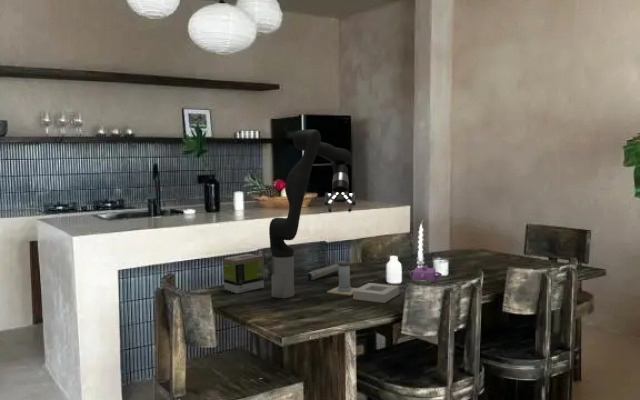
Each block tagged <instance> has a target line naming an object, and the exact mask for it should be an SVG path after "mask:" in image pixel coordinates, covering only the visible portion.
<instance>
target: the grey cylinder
mask: <svg viewBox="0 0 640 400" xmlns="http://www.w3.org/2000/svg"><path fill="white" fill-rule="evenodd" d="M339 262H346V261H345V260H340V261H339ZM333 272H336V274H337V275H339V265H338V263H335V264H332V265H328V266H325V267H323V268H319V269H315V270H314V269H313V270H311V271H310V272H307V273H306V279H307V281H315V280H318V279H319V278H321V277H322V278H323V277H324V276H326V275H329V274H331V273H333Z"/></svg>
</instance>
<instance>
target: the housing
mask: <svg viewBox="0 0 640 400" xmlns="http://www.w3.org/2000/svg"><path fill="white" fill-rule="evenodd" d="M357 288H358V289H356V290H354V291H353V295H352V296H353V297H352V299H353V300H356V301H357V300H359V301H365V302H371V303H372V302H373V303H374V302H375V303H381V304H385V303H388V302H389V301H390V300H392V299H395V297H397V296H398V295H400V286H399V285H394V284H393V285H391V284H385V283H383V284H382V283H374V282H368V283H366V284H363V285H362V286H359V287H357Z"/></svg>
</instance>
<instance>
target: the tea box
mask: <svg viewBox="0 0 640 400" xmlns="http://www.w3.org/2000/svg"><path fill="white" fill-rule="evenodd" d="M222 261H223V262H222V263H223V265H222V266H223V283H224V285H223V286H224V291H226V290H228V291H227V292H229V291H231V292H230V293H233V292H234V293H233V294H241V293H246V292H249V291H254V290H258V289H264V288H265V281H264V279H265V278H264V257H263V255H258V254H252V253H247V254H240V255H233V256H228V257H224V258H223V260H222Z"/></svg>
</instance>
